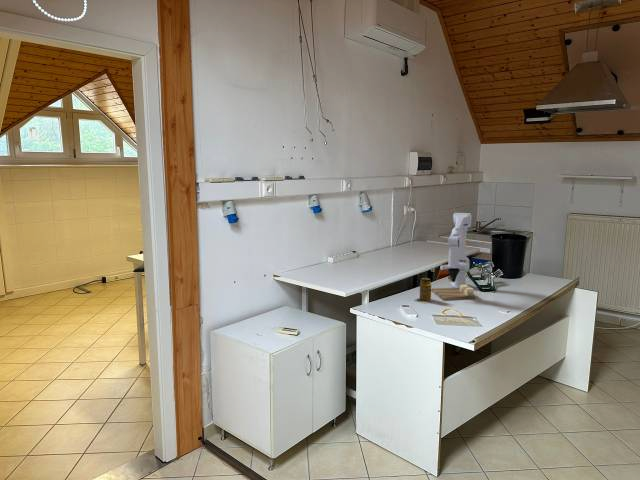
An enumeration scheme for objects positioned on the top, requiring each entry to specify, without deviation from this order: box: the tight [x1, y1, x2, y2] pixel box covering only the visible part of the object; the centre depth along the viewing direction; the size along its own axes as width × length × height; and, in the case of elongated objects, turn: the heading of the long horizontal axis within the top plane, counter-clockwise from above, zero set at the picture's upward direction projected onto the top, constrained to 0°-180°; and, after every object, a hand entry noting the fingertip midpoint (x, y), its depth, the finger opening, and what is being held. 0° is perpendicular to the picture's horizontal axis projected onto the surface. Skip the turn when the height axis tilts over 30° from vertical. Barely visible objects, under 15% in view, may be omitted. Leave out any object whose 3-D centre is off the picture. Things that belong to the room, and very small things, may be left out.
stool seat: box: [431, 286, 476, 301], centre depth 268 cm, size 18×18×2 cm
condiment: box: [414, 277, 434, 304], centre depth 258 cm, size 7×8×12 cm
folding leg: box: [460, 284, 475, 296], centre depth 267 cm, size 12×4×3 cm, turn 8°
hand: (453, 281), depth 264 cm, fingers closed
